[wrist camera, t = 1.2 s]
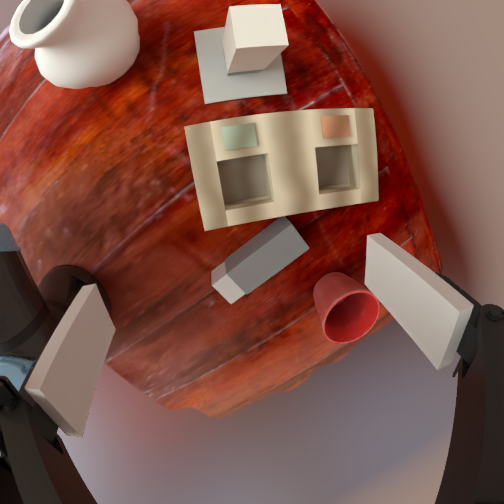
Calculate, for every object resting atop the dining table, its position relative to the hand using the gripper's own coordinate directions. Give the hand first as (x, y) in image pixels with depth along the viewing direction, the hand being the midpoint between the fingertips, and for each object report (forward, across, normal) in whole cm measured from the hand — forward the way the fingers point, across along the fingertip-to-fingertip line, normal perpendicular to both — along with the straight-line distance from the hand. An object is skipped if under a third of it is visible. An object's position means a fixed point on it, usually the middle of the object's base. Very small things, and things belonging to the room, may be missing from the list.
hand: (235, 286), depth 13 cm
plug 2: (+31, +4, -13) cm, 34 cm away
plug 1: (+31, +6, +17) cm, 36 cm away
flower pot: (+32, +17, -24) cm, 43 cm away
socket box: (+31, +10, +1) cm, 33 cm away
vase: (+31, -14, +24) cm, 42 cm away
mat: (+31, +6, +17) cm, 36 cm away
